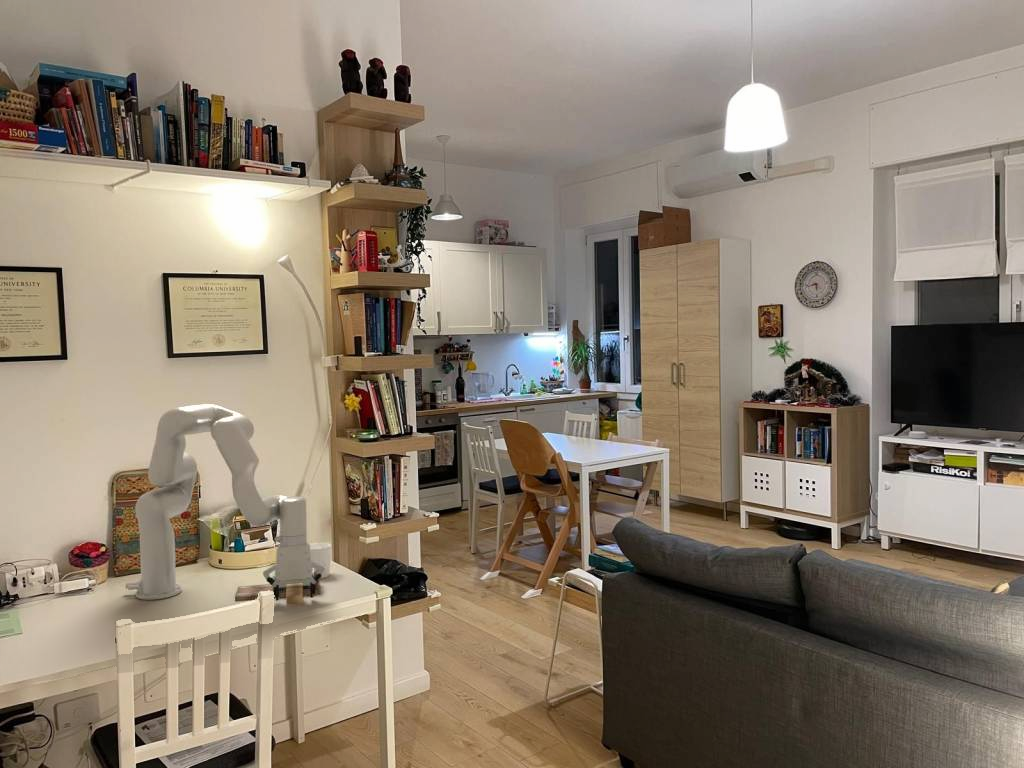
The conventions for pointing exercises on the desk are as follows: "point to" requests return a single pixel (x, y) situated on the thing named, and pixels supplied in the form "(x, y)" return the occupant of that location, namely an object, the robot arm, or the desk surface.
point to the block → (294, 594)
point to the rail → (253, 590)
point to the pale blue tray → (293, 581)
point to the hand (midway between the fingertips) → (294, 597)
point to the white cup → (321, 556)
